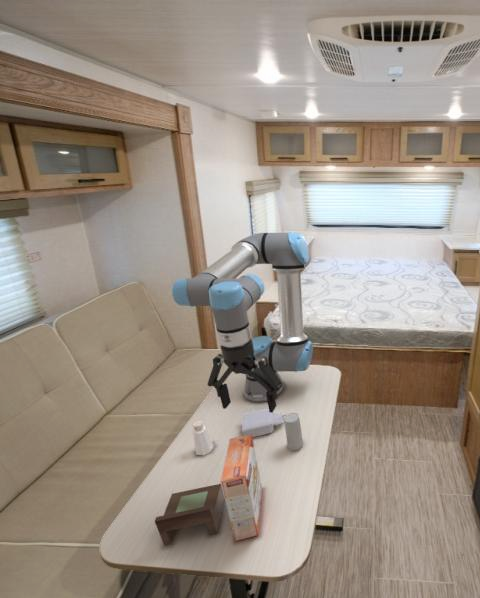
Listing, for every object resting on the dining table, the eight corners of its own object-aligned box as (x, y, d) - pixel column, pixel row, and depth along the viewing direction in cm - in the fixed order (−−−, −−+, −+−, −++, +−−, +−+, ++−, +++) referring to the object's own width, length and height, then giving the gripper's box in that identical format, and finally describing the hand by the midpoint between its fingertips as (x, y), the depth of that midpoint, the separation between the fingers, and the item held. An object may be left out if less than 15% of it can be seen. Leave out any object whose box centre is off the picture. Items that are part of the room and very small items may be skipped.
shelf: (177, 509, 93) (169, 485, 90) (224, 498, 96) (218, 475, 93) (164, 546, 84) (154, 521, 81) (217, 533, 87) (209, 509, 84)
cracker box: (260, 535, 87) (246, 475, 79) (234, 542, 85) (218, 482, 77) (264, 488, 99) (252, 432, 91) (241, 493, 98) (228, 437, 90)
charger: (289, 430, 121) (243, 440, 116) (288, 413, 129) (245, 422, 124) (288, 419, 119) (241, 429, 114) (287, 403, 127) (243, 412, 122)
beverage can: (298, 452, 112) (294, 423, 107) (285, 450, 112) (280, 421, 108) (305, 441, 116) (301, 413, 111) (292, 439, 117) (288, 411, 112)
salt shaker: (215, 441, 116) (208, 415, 112) (212, 453, 111) (205, 426, 107) (196, 445, 114) (189, 419, 110) (194, 457, 109) (186, 431, 105)
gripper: (180, 346, 85) (199, 413, 94) (276, 352, 83) (287, 420, 91) (200, 331, 92) (216, 395, 101) (288, 337, 90) (297, 401, 98)
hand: (249, 407), depth 96 cm, fingers open, 13 cm apart
